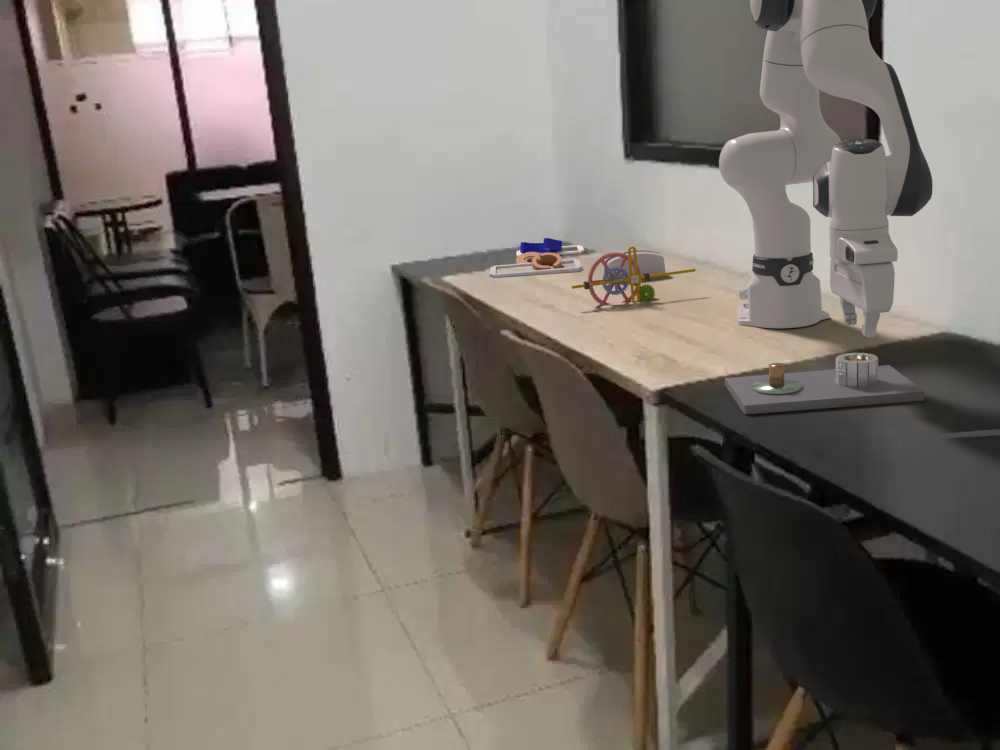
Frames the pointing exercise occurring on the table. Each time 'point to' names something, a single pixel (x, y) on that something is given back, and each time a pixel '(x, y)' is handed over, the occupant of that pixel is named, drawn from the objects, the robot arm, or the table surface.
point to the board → (823, 392)
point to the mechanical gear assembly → (623, 279)
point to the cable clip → (542, 246)
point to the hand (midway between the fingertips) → (859, 330)
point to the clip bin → (580, 250)
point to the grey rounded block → (639, 262)
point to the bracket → (540, 260)
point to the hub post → (776, 382)
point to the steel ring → (856, 370)
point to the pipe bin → (535, 272)
